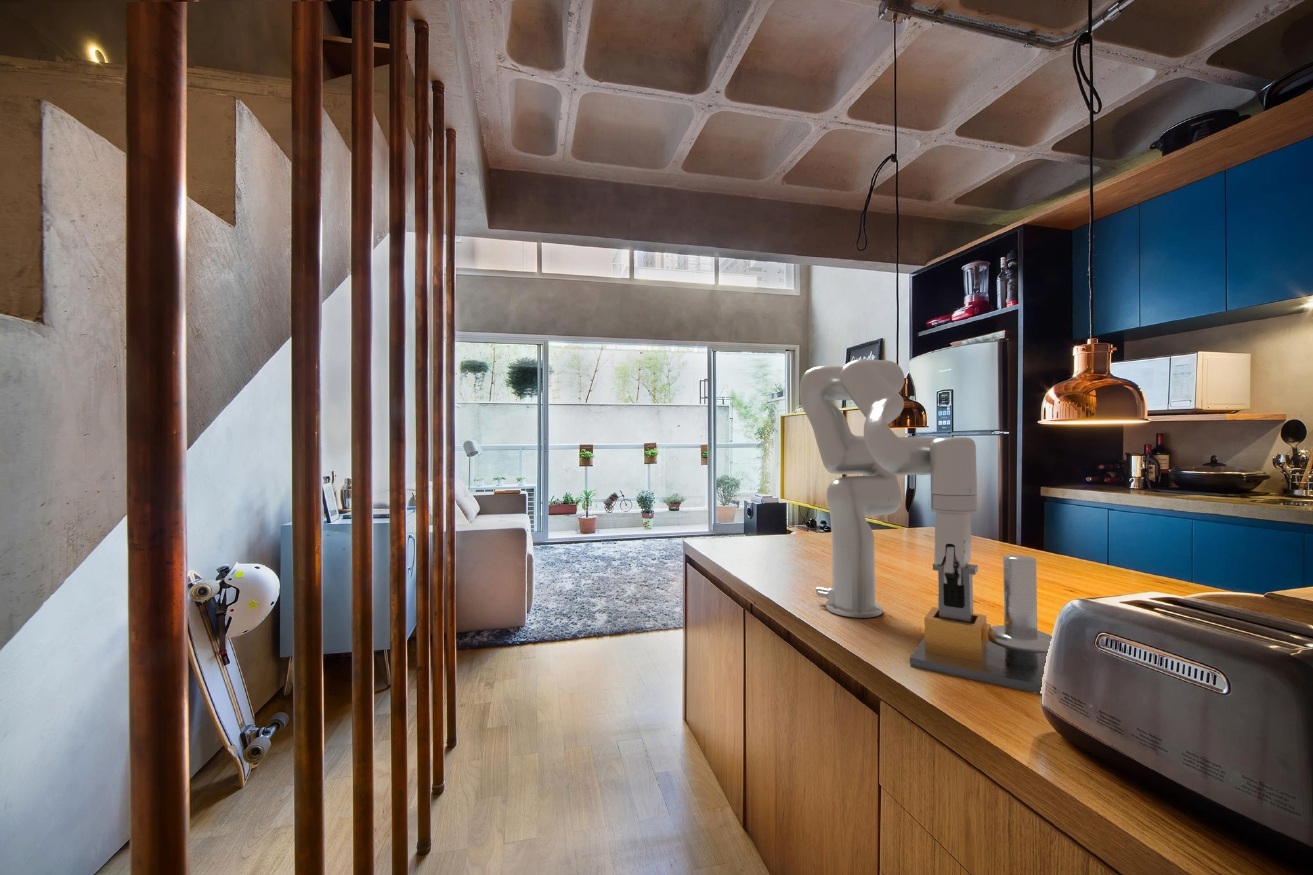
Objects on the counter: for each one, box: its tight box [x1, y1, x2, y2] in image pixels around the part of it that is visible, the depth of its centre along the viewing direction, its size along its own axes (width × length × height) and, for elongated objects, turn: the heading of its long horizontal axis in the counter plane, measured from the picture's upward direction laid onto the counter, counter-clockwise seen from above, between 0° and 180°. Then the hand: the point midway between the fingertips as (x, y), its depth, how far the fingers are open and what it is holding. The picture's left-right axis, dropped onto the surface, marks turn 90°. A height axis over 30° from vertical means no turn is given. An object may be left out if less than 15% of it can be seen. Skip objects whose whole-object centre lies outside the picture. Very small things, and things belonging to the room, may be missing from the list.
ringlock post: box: [909, 554, 1053, 695], centre depth 98 cm, size 21×18×20 cm
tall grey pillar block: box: [932, 562, 979, 624], centre depth 101 cm, size 7×4×10 cm, turn 53°
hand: (956, 602), depth 101 cm, fingers closed on tall grey pillar block, 4 cm apart
